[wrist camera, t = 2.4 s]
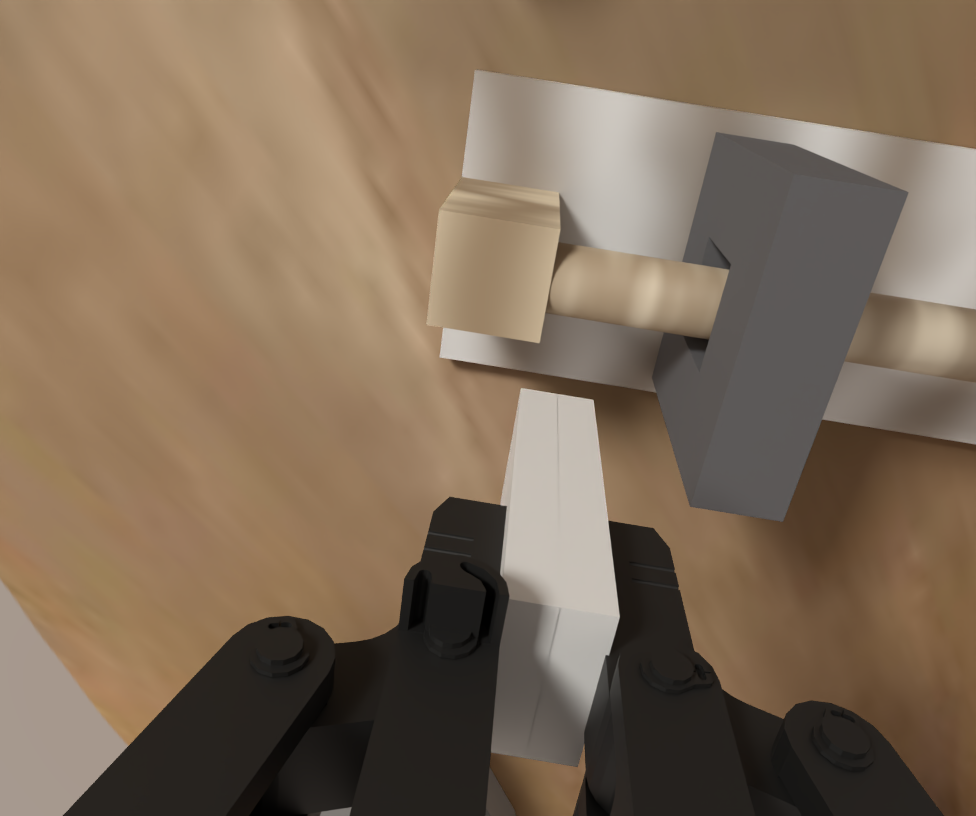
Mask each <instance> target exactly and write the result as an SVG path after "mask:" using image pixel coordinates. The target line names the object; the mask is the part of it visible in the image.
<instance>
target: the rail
mask: <svg viewBox="0 0 976 816" xmlns="http://www.w3.org/2000/svg"><path fill="white" fill-rule="evenodd" d="M716 132H719V133H725V134H731V135H737V136H744V137H750V138H756V139H762V140H769V141H775V142H781V143H787V144H794V145H796V146H798V147H801V148H803V149H806V150H808V151H811V152H813V153H815V154H818V155H820V156H823V157H825V158H827V159H830V160H832V161H835V162H837V163H839V164H842V165H844V166H847V167H849V168H851V169H854V170H856V171H859V172H861V173H863V174H866V175H868V176H871V177H873V178H875V179H878V180H880V181H883V182H885V183H888V184H890V185H892V186H895V187H897V188H900V189H902V190H904V191H907V192H909V193H908V196H907V199H906V201H905V204H904V206H903V209H902V212H901V214H900V217H899V219H898V222H897V225H896V227H895V230H894V233H893V235H892V238H891V240H890V243H889V246H888V248H887V251H886V253H885V256H884V259H883V261H882V264H881V267H880V269H879V272H878V274H877V277H876V280H875V282H874V285H873V287H872V290H871V293H870V295H869V298H868V301H867V303H866V306H865V308H864V311H863V314H862V316H861V319H860V321H859V324H858V327H857V329H856V332H855V335H854V337H853V340H852V342H851V345H850V348H849V350H848V353H847V355H846V358H845V361H844V363H843V366H842V369H841V371H840V374H839V376H838V379H837V382H836V384H835V387H834V389H833V392H832V395H831V397H830V400H829V403H828V405H827V408H826V410H825V413H824V416H823V418H822V419H823V420H829V421H835V422H841V423H847V424H853V425H859V426H866V427H872V428H878V429H884V430H890V431H896V432H902V433H909V434H915V435H921V436H927V437H933V438H939V439H946V440H952V441H958V442H964V443H970V444H976V149H973V148H967V147H960V146H954V145H948V144H942V143H935V142H929V141H923V140H917V139H910V138H904V137H898V136H891V135H885V134H879V133H873V132H866V131H860V130H854V129H848V128H841V127H835V126H829V125H823V124H816V123H810V122H804V121H797V120H791V119H785V118H779V117H772V116H766V115H760V114H754V113H747V112H741V111H735V110H729V109H722V108H716V107H710V106H703V105H697V104H691V103H685V102H678V101H672V100H666V99H660V98H653V97H647V96H641V95H635V94H628V93H622V92H616V91H609V90H603V89H597V88H591V87H584V86H578V85H572V84H566V83H559V82H553V81H547V80H541V79H534V78H528V77H522V76H515V75H509V74H503V73H497V72H490V71H484V70H478V69H477V70H475V75H474V83H473V91H472V99H471V107H470V115H469V123H468V132H467V140H466V148H465V156H464V164H463V172H462V178H461V179H460V180H459V182H458V183H457V185H456V186H455V188H454V189H453V191H452V192H451V193H450V195H449V196H448V198H447V199H446V201H445V202H444V204H443V205H442V207H441V208H440V209H439V216H438V225H437V234H436V243H435V252H434V260H433V269H432V278H431V287H430V296H429V305H428V314H427V323H426V325H430V326H436V327H443V335H442V343H441V351H440V357H441V358H447V359H454V360H460V361H466V362H472V363H478V364H484V365H491V366H497V367H503V368H509V369H515V370H521V371H527V372H534V373H540V374H546V375H552V376H558V377H564V378H570V379H577V380H583V381H589V382H595V383H601V384H607V385H613V386H620V387H626V388H632V389H638V390H644V391H650V392H656V390H655V386H654V383H653V380H652V375H653V371H654V367H655V364H656V360H657V356H658V352H659V348H660V345H661V341H662V337H663V333H664V332H665V333H671V334H678V335H684V336H690V337H696V338H702V339H708V340H709V338H710V335H711V331H712V328H713V324H714V321H715V318H716V314H717V311H718V307H719V304H720V300H721V297H722V294H723V290H724V287H725V283H726V280H727V276H728V273H729V269H722V268H716V267H710V266H704V265H698V264H691V263H685V262H682V261H683V257H684V253H685V249H686V245H687V242H688V238H689V234H690V230H691V226H692V222H693V219H694V215H695V211H696V207H697V203H698V200H699V196H700V192H701V188H702V184H703V180H704V177H705V173H706V169H707V165H708V161H709V158H710V154H711V150H712V146H713V142H714V138H715V135H716Z"/></svg>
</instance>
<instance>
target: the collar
mask: <svg viewBox="0 0 976 816" xmlns="http://www.w3.org/2000/svg"><path fill="white" fill-rule="evenodd" d="M908 193H909V192H907V191H904V190H902V189H900V188H897V187H895V186H892V185H890V184H888V183H885V182H883V181H880V180H878V179H875V178H873V177H871V176H868V175H866V174H863V173H861V172H859V171H856V170H854V169H851V168H849V167H847V166H844V165H842V164H839V163H837V162H835V161H832V160H830V159H827V158H825V157H823V156H820V155H818V154H815V153H813V152H811V151H808V150H806V149H803V148H801V147H798V146H796V145H794V144H787V143H781V142H775V141H769V140H762V139H756V138H750V137H744V136H737V135H731V134H725V133H719V132H716V135H715V138H714V142H713V146H712V150H711V154H710V158H709V161H708V165H707V169H706V173H705V177H704V180H703V184H702V188H701V192H700V196H699V200H698V203H697V207H696V211H695V215H694V219H693V222H692V226H691V230H690V234H689V238H688V242H687V245H686V249H685V253H684V257H683V261H682V262H685V263H691V264H698V265H704V266H710V267H716V268H722V269H729V273H728V276H727V280H726V283H725V287H724V290H723V294H722V297H721V300H720V304H719V307H718V311H717V314H716V318H715V321H714V324H713V328H712V331H711V335H710V338H709V340H708V339H702V338H696V337H690V336H684V335H678V334H671V333H665V332H664V333H663V337H662V341H661V345H660V348H659V352H658V356H657V360H656V364H655V367H654V371H653V375H652V380H653V383H654V386H655V390H656V393H657V397H658V400H659V403H660V407H661V410H662V413H663V417H664V420H665V424H666V427H667V430H668V434H669V437H670V440H671V444H672V447H673V451H674V454H675V457H676V461H677V464H678V467H679V471H680V474H681V478H682V481H683V484H684V488H685V491H686V494H687V498H688V501H689V505H690V507H695V508H702V509H708V510H714V511H720V512H726V513H732V514H738V515H744V516H750V517H757V518H763V519H769V520H775V521H781V522H783V520H784V518H785V515H786V512H787V510H788V507H789V505H790V502H791V499H792V497H793V494H794V491H795V489H796V486H797V484H798V481H799V478H800V476H801V473H802V471H803V468H804V465H805V463H806V460H807V457H808V455H809V452H810V450H811V447H812V444H813V442H814V439H815V437H816V434H817V431H818V429H819V426H820V423H821V421H822V418H823V416H824V413H825V410H826V408H827V405H828V403H829V400H830V397H831V395H832V392H833V389H834V387H835V384H836V382H837V379H838V376H839V374H840V371H841V369H842V366H843V363H844V361H845V358H846V355H847V353H848V350H849V348H850V345H851V342H852V340H853V337H854V335H855V332H856V329H857V327H858V324H859V321H860V319H861V316H862V314H863V311H864V308H865V306H866V303H867V301H868V298H869V295H870V293H871V290H872V287H873V285H874V282H875V280H876V277H877V274H878V272H879V269H880V267H881V264H882V261H883V259H884V256H885V253H886V251H887V248H888V246H889V243H890V240H891V238H892V235H893V233H894V230H895V227H896V225H897V222H898V219H899V217H900V214H901V212H902V209H903V206H904V204H905V201H906V199H907V196H908Z"/></svg>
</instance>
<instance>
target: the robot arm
mask: <svg viewBox="0 0 976 816" xmlns="http://www.w3.org/2000/svg"><path fill="white" fill-rule="evenodd" d="M674 570H675V568H674V564H673V560H672V556H671V551H670V548H669V547H668V545H667V544H666V543H665V542H664V541H663V539H662V538H661V537H660V536H659V534H658V533H657V532H656V531H655V530H654V528H649V527H643V526H637V525H631V524H625V523H618V522H612V521H608V515H607V507H606V499H605V491H604V482H603V474H602V466H601V457H600V449H599V441H598V433H597V424H596V416H595V408H594V400H592V399H586V398H579V397H573V396H567V395H561V394H555V393H549V392H543V391H536V390H530V389H524V388H521V391H520V396H519V402H518V408H517V413H516V419H515V424H514V430H513V436H512V441H511V447H510V452H509V458H508V464H507V469H506V475H505V481H504V486H503V492H502V497H501V505H496V504H490V503H484V502H478V501H472V500H466V499H460V498H454V497H449V498H448V499H447V500H446V501H445V502H443V503H442V504H441V505H440V506H439V507H438V508H437V509H436V510H435V511H434V512H433V515H432V519H431V523H430V527H429V531H428V535H427V539H426V542H425V546H424V550H423V554H422V558H421V561H420V562H419V563H417V564H415V565H414V566H412V567H411V569H410V570H409V572H408V574H407V575H406V577H405V578H404V586H403V594H402V603H401V611H400V620H399V624H398V625H397V626H396V627H395V628H393V629H392V630H390V631H389V632H387V633H385V634H383V635H380V636H378V637H375V638H373V639H369V640H363V641H357V642H347V643H336V644H334V641H333V640H332V639H331V637H330V636H329V635H328V633H327V632H326V631H325V630H324V628H322V627H320V626H318V625H316V624H315V623H313V622H311V621H309V620H307V619H301V618H296V617H291V616H282V617H269V618H265V619H262V620H259V621H257V622H254V623H251V624H248V625H247V626H245V627H244V628H243V629H241V630H240V631H239V632H237V633H236V634H235V635H233V636H232V637H231V638H230V639H229V640H228V641H227V642H226V643H225V644H224V645H223V646H222V648H221V649H220V650H219V651H218V652H217V653H216V654H215V655H214V656H213V657H212V658H211V659H210V660H209V661H208V662H207V663H206V665H205V666H204V667H203V668H202V669H201V670H200V671H199V672H198V673H197V674H196V675H195V676H194V677H193V678H192V679H191V680H190V681H189V683H188V684H187V685H186V686H185V687H184V688H183V689H182V690H181V691H180V692H179V693H178V694H177V695H176V696H175V697H174V698H173V699H172V701H171V702H170V703H169V704H168V705H167V706H166V707H165V708H164V709H163V710H162V711H161V712H160V713H159V714H158V715H157V716H156V717H155V719H154V720H153V721H152V722H151V723H150V724H149V725H148V726H147V727H146V728H145V729H144V730H143V731H142V732H141V733H140V734H139V735H138V737H137V738H136V739H135V740H134V741H133V742H132V743H131V744H130V745H129V746H128V747H127V748H126V749H125V750H124V752H122V754H121V755H120V756H119V757H118V758H117V759H116V760H115V761H114V762H113V763H112V764H111V765H110V766H109V767H108V768H107V770H106V771H104V773H103V774H102V775H101V776H100V777H99V778H98V779H97V780H96V781H95V783H93V784H92V785H91V786H90V787H89V788H88V790H87V791H86V792H85V793H84V794H83V795H82V796H81V797H80V798H79V799H78V800H77V801H76V802H75V803H74V804H73V806H72V807H71V808H70V809H69V810H68V811H67V812H66V813H65V814H64V815H63V816H320V814H321V812H323V811H330V810H336V809H343V808H350V807H352V808H351V812H350V815H349V816H485V815H486V803H487V791H488V779H489V768H490V756H491V753H497V754H503V755H509V756H515V757H521V758H527V759H533V760H539V761H545V762H551V763H557V764H563V765H569V766H575V767H578V764H579V760H580V757H581V753H582V750H583V746H584V743H585V763H586V772H585V776H584V779H583V783H582V786H581V790H580V793H579V797H578V800H577V803H576V807H575V810H574V814H573V816H944V815H943V814H942V813H941V811H940V810H939V809H938V807H937V806H936V805H935V803H934V802H933V801H932V799H931V798H930V797H929V795H928V794H927V793H926V791H925V790H924V789H923V787H922V786H921V785H920V783H919V782H918V781H917V779H916V778H915V776H914V775H913V774H912V772H911V771H910V770H909V768H908V767H907V766H906V764H905V763H904V762H903V760H902V759H901V758H900V756H899V755H898V754H897V752H896V751H895V750H894V748H893V747H892V746H891V744H890V743H889V742H888V741H887V740H886V739H885V738H884V737H883V736H882V734H881V733H880V732H879V731H878V730H877V729H876V728H875V727H874V726H873V725H871V724H870V723H868V722H867V721H865V720H864V719H862V718H861V717H859V716H858V715H857V714H855V713H854V712H852V711H849V710H847V709H844V708H842V707H839V706H837V705H834V704H832V703H825V702H818V701H808V702H803V703H799V704H796V705H795V706H794V707H793V708H792V709H791V710H790V711H789V712H788V713H787V714H786V716H785V718H784V719H782V718H779V717H777V716H775V715H772V714H770V713H767V712H765V711H763V710H760V709H758V708H755V707H753V706H751V705H748V704H746V703H744V702H742V701H740V700H738V699H736V698H734V697H732V696H731V695H730V694H728V693H727V692H725V691H724V690H722V688H721V684H720V681H719V679H718V677H717V675H716V673H715V671H714V669H713V667H712V666H711V665H710V664H709V663H708V662H707V661H706V660H705V659H704V658H703V657H702V656H701V655H700V654H699V653H697V652H695V651H694V648H693V644H692V639H691V635H690V631H689V627H688V623H687V618H686V614H685V610H684V606H683V602H682V598H681V593H680V590H678V587H679V585H678V581H677V577H676V573H674Z"/></svg>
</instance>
